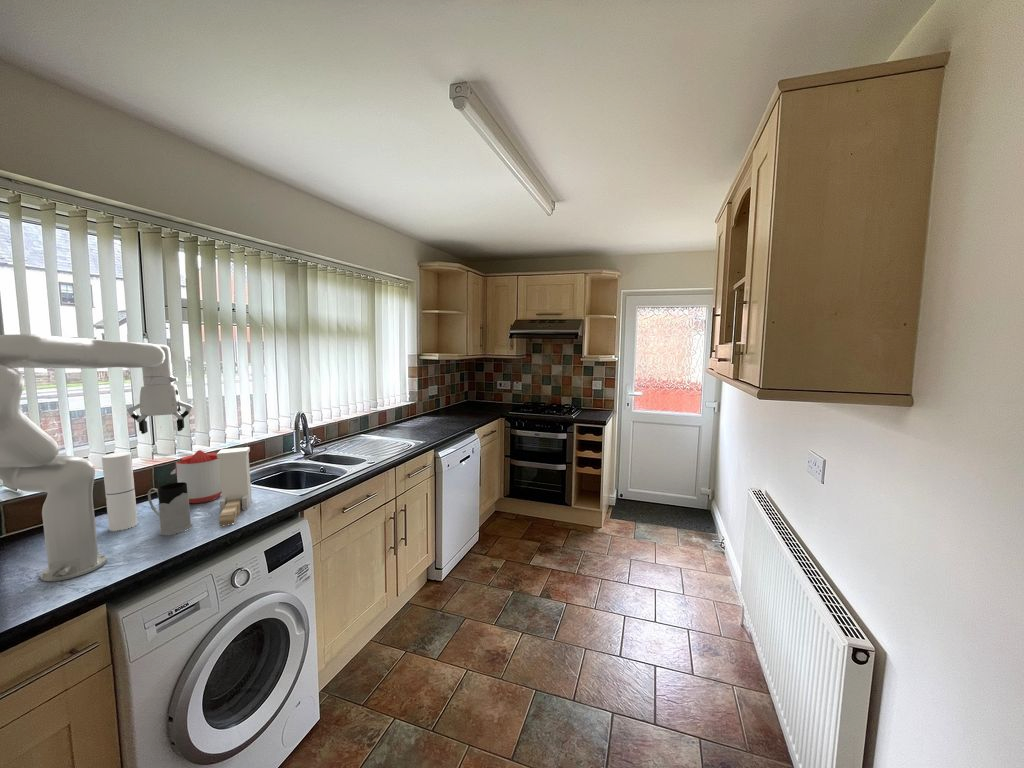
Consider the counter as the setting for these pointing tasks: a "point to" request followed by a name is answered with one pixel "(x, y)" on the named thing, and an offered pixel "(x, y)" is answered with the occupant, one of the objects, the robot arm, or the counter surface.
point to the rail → (230, 512)
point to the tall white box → (235, 476)
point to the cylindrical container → (119, 491)
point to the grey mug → (172, 508)
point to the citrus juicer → (200, 476)
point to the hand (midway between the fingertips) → (162, 431)
